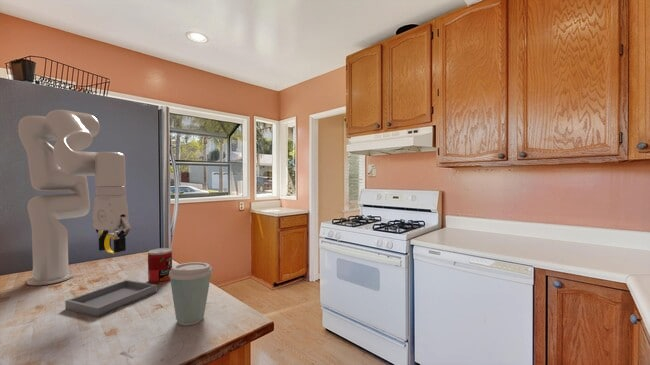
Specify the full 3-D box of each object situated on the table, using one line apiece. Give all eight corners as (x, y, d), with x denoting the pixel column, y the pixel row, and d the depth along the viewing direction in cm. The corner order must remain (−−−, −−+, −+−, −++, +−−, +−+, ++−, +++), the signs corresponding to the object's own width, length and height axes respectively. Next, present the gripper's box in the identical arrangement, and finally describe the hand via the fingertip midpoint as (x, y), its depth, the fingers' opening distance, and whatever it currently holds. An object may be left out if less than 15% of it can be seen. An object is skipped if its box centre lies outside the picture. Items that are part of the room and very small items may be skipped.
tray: (65, 309, 84) (65, 300, 83) (127, 286, 100) (126, 279, 100) (97, 317, 79) (97, 308, 79) (156, 292, 96) (156, 284, 96)
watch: (122, 253, 89) (123, 234, 89) (112, 255, 87) (113, 236, 86) (111, 250, 92) (111, 231, 91) (101, 252, 89) (101, 233, 89)
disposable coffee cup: (182, 310, 83) (181, 258, 83) (219, 310, 83) (219, 258, 82) (160, 330, 72) (159, 270, 72) (202, 330, 72) (202, 271, 72)
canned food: (162, 284, 103) (161, 253, 102) (142, 282, 104) (142, 252, 104) (177, 277, 110) (176, 248, 110) (159, 275, 112) (158, 247, 111)
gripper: (79, 192, 88) (80, 251, 89) (117, 193, 82) (119, 256, 83) (105, 191, 95) (106, 245, 96) (142, 192, 89) (143, 250, 90)
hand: (112, 250), depth 89 cm, fingers closed on watch, 6 cm apart
